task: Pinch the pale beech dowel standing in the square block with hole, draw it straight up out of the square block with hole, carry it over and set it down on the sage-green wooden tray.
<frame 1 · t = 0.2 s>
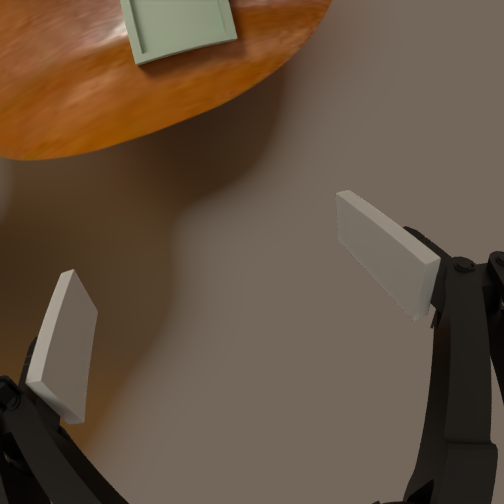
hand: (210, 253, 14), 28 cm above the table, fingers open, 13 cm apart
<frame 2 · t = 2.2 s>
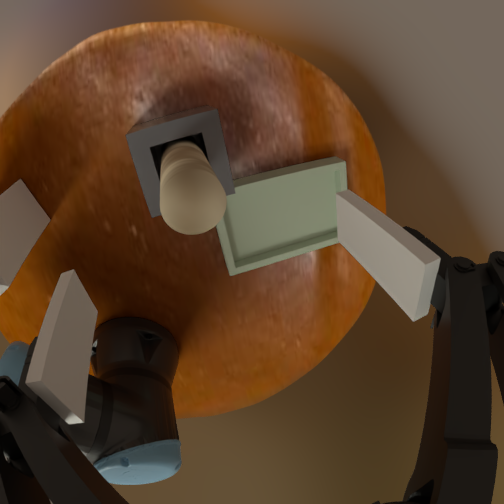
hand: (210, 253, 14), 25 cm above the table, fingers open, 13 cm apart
dowel: (180, 151, 34), point 1 cm above the table, touching square block with hole
tray: (280, 211, 43), on the table
square block with hole: (179, 150, 35), on the table
milk carton: (20, 213, 33), on the table
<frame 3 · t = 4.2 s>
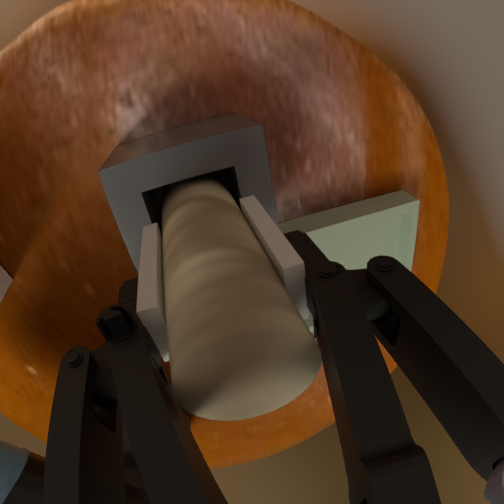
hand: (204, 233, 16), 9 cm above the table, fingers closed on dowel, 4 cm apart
dowel: (191, 187, 23), point 1 cm above the table, touching square block with hole, gripper
tray: (329, 263, 31), on the table
square block with hole: (189, 183, 23), on the table
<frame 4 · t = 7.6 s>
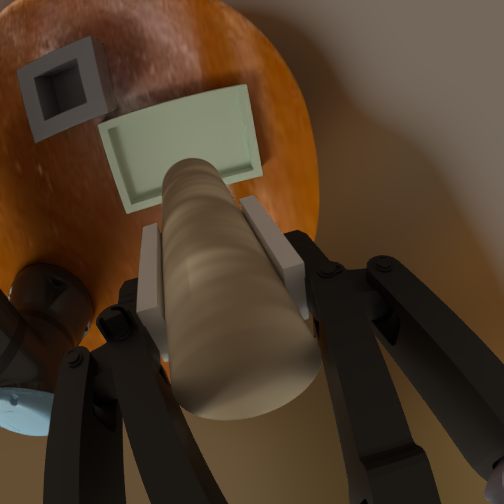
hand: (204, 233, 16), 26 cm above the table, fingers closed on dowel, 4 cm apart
dowel: (191, 186, 23), point 18 cm above the table, touching gripper
tray: (181, 144, 37), on the table
square block with hole: (76, 88, 30), on the table
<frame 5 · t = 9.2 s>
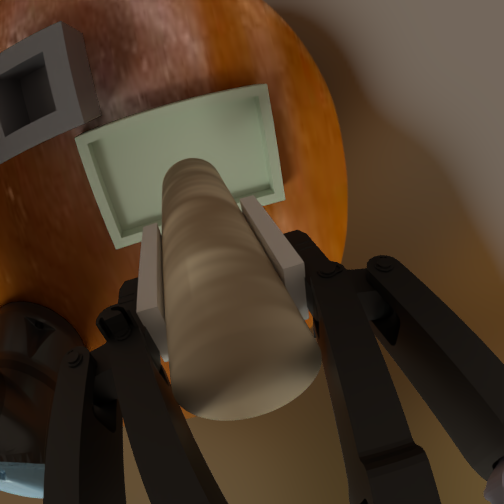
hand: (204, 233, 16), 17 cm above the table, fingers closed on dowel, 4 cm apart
dowel: (191, 186, 23), point 9 cm above the table, touching gripper
tray: (182, 160, 30), on the table
square block with hole: (50, 91, 22), on the table
when the fingers open (10 cm above the table, at t = 10.8 s): dowel stays where it is, resting on tray.
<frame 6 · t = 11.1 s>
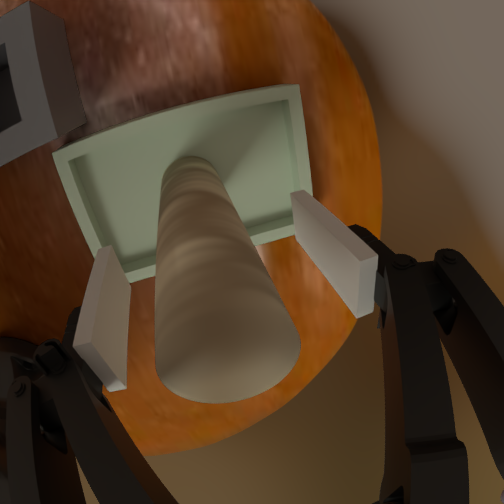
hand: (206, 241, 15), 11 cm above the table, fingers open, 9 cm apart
dowel: (190, 183, 23), point 1 cm above the table, touching tray
tray: (189, 179, 24), on the table
square block with hole: (24, 93, 17), on the table
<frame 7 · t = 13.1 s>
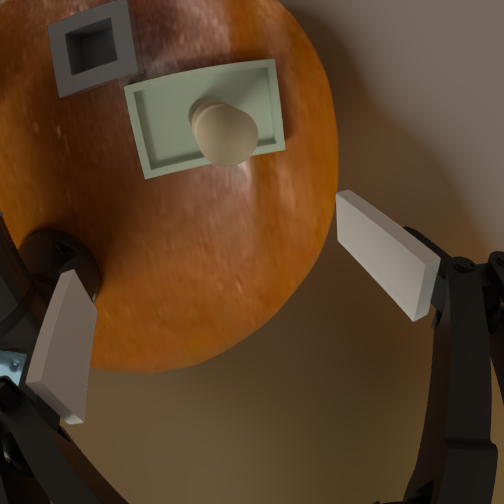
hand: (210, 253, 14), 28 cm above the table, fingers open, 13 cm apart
dowel: (205, 114, 36), point 1 cm above the table, touching tray
tray: (205, 114, 37), on the table
square block with hole: (104, 51, 29), on the table
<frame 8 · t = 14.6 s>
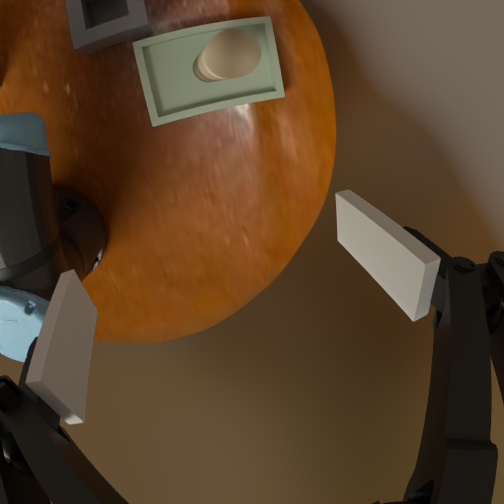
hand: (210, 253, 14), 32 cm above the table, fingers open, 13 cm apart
dowel: (209, 67, 36), point 1 cm above the table, touching tray
tray: (208, 67, 37), on the table
square block with hole: (113, 15, 29), on the table
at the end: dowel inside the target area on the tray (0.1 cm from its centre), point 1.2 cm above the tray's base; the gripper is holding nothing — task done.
